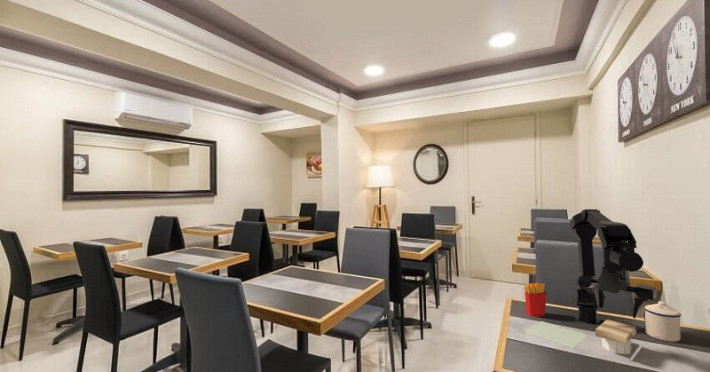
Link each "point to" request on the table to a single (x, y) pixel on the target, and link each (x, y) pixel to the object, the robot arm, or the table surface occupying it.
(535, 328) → the mat
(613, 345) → the bowl
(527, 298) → the french fries
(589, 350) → the table surface
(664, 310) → the teacup with lid
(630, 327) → the beige flat block
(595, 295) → the robot arm
